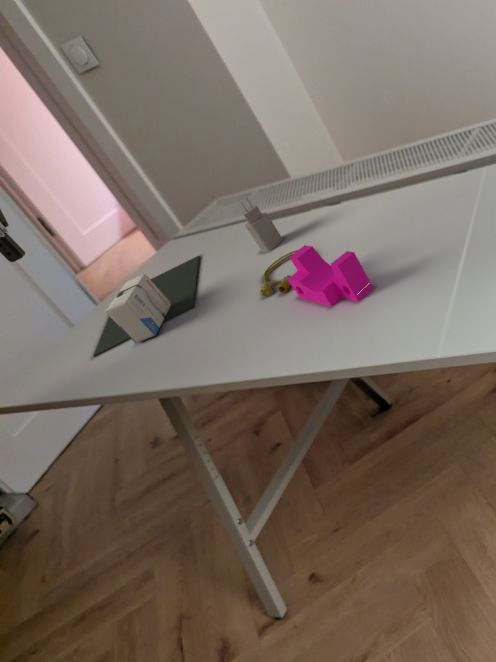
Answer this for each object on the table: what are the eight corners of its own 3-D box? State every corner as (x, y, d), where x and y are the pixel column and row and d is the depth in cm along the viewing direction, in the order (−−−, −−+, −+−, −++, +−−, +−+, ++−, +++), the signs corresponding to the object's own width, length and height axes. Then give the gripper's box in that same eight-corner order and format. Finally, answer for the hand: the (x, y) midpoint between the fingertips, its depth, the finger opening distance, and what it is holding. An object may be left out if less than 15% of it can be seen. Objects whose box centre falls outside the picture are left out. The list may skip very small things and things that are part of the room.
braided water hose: (241, 299, 108) (236, 291, 106) (288, 254, 117) (283, 246, 116) (283, 298, 101) (278, 290, 100) (329, 251, 111) (324, 242, 110)
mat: (194, 308, 112) (192, 306, 112) (95, 358, 110) (93, 355, 110) (200, 257, 136) (198, 255, 136) (118, 297, 134) (117, 295, 134)
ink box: (134, 344, 107) (153, 313, 117) (156, 335, 107) (173, 304, 116) (103, 311, 102) (125, 281, 112) (126, 301, 102) (146, 272, 111)
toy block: (300, 298, 99) (278, 265, 94) (324, 278, 102) (304, 245, 97) (348, 311, 89) (326, 274, 85) (373, 289, 92) (354, 252, 88)
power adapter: (284, 239, 126) (255, 192, 118) (270, 252, 122) (240, 205, 115) (275, 240, 127) (246, 194, 120) (261, 253, 124) (230, 206, 117)
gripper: (-86, 158, 81) (9, 254, 91) (-133, 179, 71) (-19, 285, 81) (-38, 136, 82) (51, 234, 92) (-77, 154, 71) (29, 262, 82)
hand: (18, 258), depth 86 cm, fingers closed
